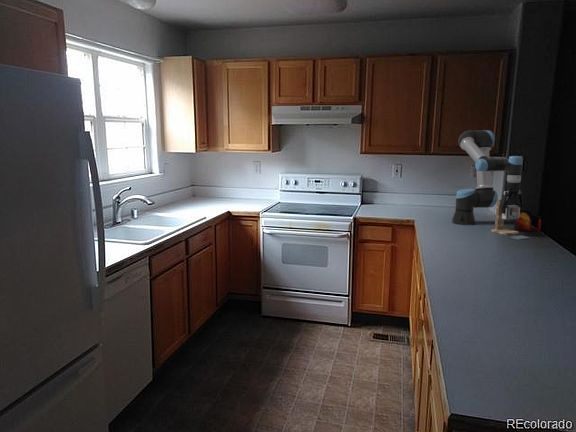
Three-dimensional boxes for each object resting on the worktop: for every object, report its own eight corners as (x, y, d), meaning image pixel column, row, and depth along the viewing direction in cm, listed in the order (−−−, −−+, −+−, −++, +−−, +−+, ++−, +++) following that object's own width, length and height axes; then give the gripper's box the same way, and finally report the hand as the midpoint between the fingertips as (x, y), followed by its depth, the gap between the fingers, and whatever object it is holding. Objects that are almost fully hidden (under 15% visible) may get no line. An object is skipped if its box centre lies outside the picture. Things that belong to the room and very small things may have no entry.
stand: (490, 231, 273) (493, 200, 270) (502, 229, 277) (505, 199, 273) (507, 235, 262) (510, 202, 258) (520, 234, 265) (522, 201, 261)
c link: (507, 219, 262) (508, 206, 261) (503, 218, 265) (504, 205, 263) (517, 218, 265) (518, 205, 263) (513, 217, 268) (514, 204, 266)
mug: (540, 232, 270) (542, 213, 267) (516, 231, 273) (517, 212, 271) (536, 229, 279) (537, 210, 277) (512, 228, 282) (514, 210, 280)
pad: (510, 237, 256) (510, 236, 256) (521, 236, 259) (521, 235, 259) (518, 239, 250) (519, 238, 250) (530, 238, 253) (530, 237, 253)
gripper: (504, 183, 253) (501, 220, 257) (532, 181, 261) (529, 217, 265) (494, 182, 260) (491, 218, 264) (522, 180, 268) (518, 215, 272)
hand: (510, 218), depth 265 cm, fingers open, 10 cm apart
